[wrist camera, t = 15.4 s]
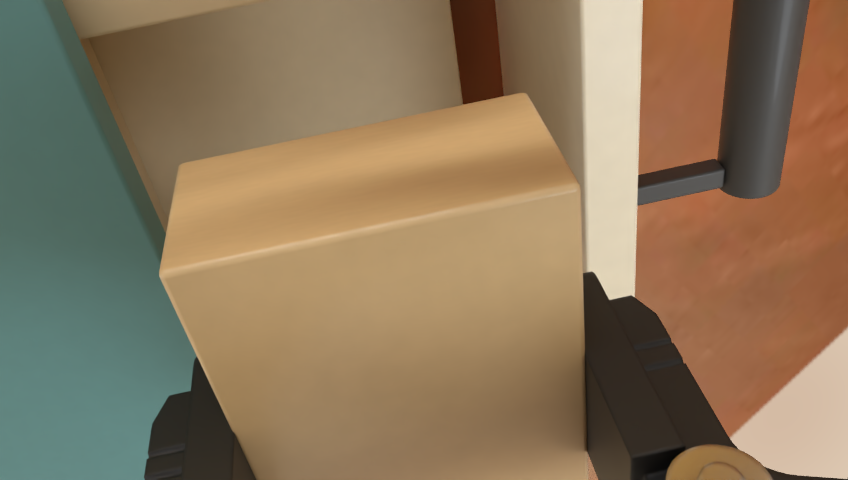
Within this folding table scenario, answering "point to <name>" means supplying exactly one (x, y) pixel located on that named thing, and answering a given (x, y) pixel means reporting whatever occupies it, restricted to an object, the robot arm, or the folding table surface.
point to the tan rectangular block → (391, 298)
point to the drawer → (434, 89)
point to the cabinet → (75, 268)
